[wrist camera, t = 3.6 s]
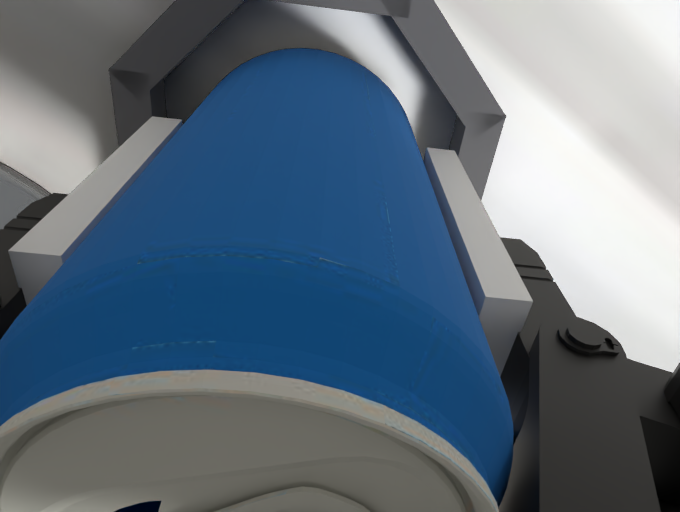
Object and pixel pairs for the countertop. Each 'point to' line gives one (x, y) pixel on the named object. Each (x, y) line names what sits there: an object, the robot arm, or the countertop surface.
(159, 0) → the countertop surface
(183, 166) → the beverage can
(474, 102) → the stand ring
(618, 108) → the countertop surface
